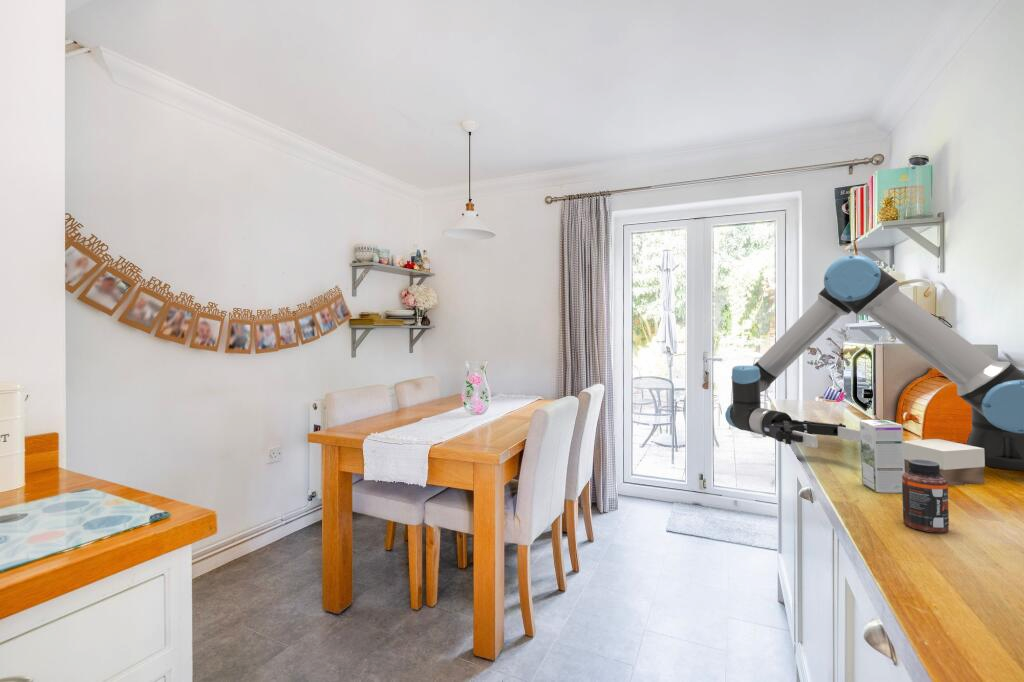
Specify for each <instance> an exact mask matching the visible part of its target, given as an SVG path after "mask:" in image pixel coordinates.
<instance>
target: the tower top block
mask: <svg viewBox="0 0 1024 682" xmlns="http://www.w3.org/2000/svg"><path fill="white" fill-rule="evenodd" d="M903 444H904V459H906V460H927V461H933V462H936V463H938V464H939V467H940V469H943V470H949V469H962V468H976V467H984V468H985V467H986V466H985V455H984V448H980V447H975V446H970V445H966V443H965V444H964V443H960V442H959V443H958V442H954V441H950V440H945V439H939V438H929V439H915V440H903Z"/></svg>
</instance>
